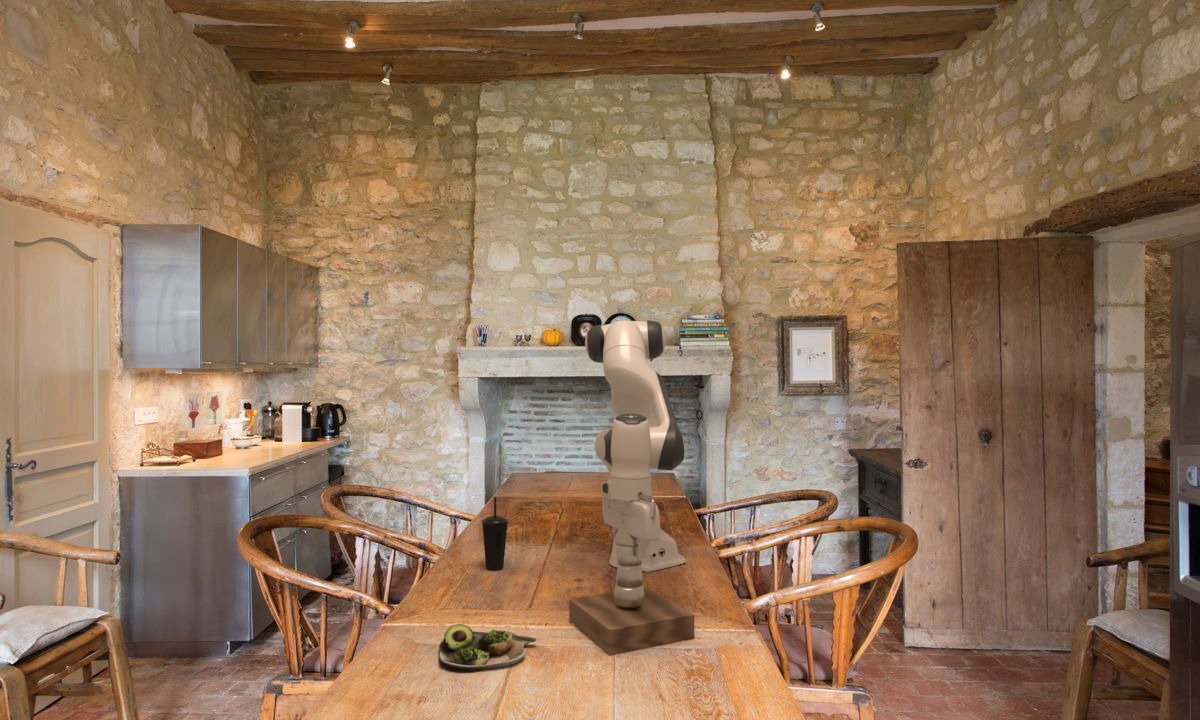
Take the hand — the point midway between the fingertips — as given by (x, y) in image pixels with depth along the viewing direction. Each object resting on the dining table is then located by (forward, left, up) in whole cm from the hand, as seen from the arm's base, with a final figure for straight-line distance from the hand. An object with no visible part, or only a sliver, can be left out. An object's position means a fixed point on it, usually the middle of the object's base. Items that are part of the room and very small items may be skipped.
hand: (630, 553), depth 150 cm
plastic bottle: (0, 0, -12) cm, 12 cm away
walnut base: (0, 0, -17) cm, 17 cm away
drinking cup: (+13, -56, -17) cm, 60 cm away
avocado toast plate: (+33, -2, -17) cm, 37 cm away
